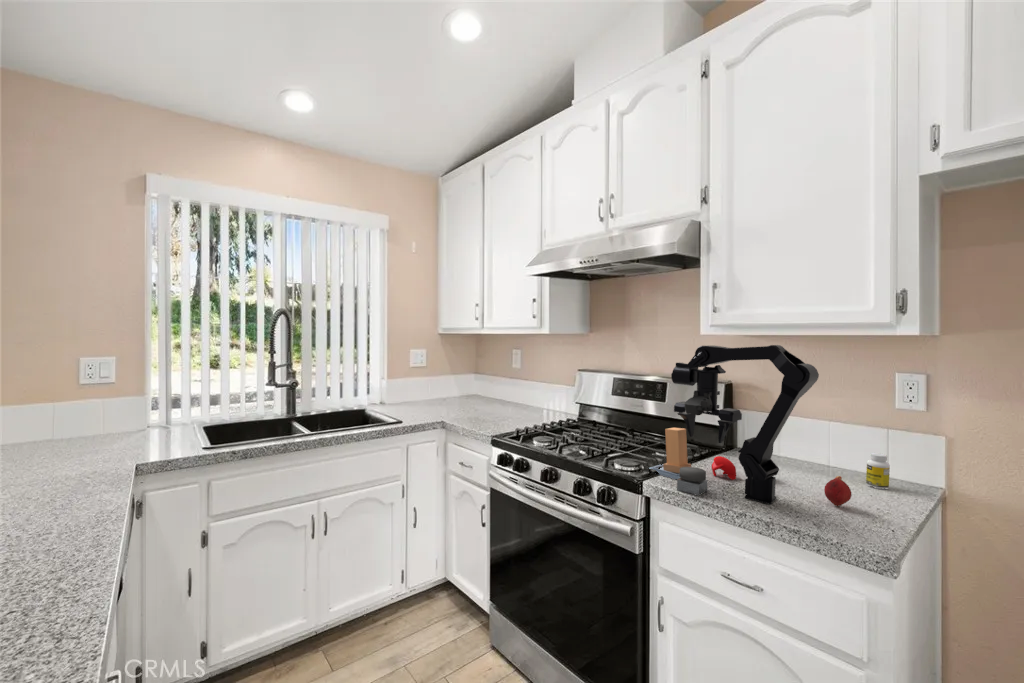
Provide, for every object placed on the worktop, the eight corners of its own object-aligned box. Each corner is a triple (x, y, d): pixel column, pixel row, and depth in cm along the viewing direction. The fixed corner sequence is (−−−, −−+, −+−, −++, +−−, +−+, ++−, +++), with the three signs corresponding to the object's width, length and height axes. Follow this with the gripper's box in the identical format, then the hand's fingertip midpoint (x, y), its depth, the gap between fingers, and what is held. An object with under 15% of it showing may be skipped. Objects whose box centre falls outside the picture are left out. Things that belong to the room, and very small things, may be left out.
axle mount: (707, 490, 133) (707, 479, 133) (698, 495, 129) (699, 484, 129) (685, 484, 138) (686, 474, 137) (676, 489, 133) (677, 479, 133)
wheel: (709, 488, 133) (709, 470, 133) (699, 494, 128) (700, 475, 128) (685, 482, 138) (685, 465, 138) (675, 487, 133) (675, 470, 133)
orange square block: (691, 470, 147) (689, 428, 148) (680, 473, 143) (678, 431, 144) (674, 467, 152) (672, 427, 152) (663, 470, 148) (661, 429, 149)
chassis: (699, 475, 147) (699, 470, 147) (681, 481, 141) (681, 476, 141) (666, 465, 157) (666, 461, 156) (648, 470, 150) (648, 466, 150)
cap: (704, 464, 148) (717, 458, 143) (714, 455, 151) (727, 450, 147) (720, 486, 146) (733, 482, 141) (730, 477, 149) (744, 472, 144)
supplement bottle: (861, 484, 141) (862, 452, 141) (874, 483, 143) (875, 451, 143) (880, 490, 136) (881, 457, 136) (893, 489, 138) (894, 456, 138)
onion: (838, 511, 120) (839, 480, 119) (818, 502, 125) (819, 473, 125) (856, 509, 121) (857, 478, 121) (835, 501, 127) (836, 471, 126)
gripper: (663, 385, 142) (662, 436, 142) (723, 393, 127) (721, 450, 127) (684, 383, 148) (683, 432, 149) (743, 390, 133) (741, 445, 134)
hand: (705, 439), depth 139 cm, fingers open, 9 cm apart
